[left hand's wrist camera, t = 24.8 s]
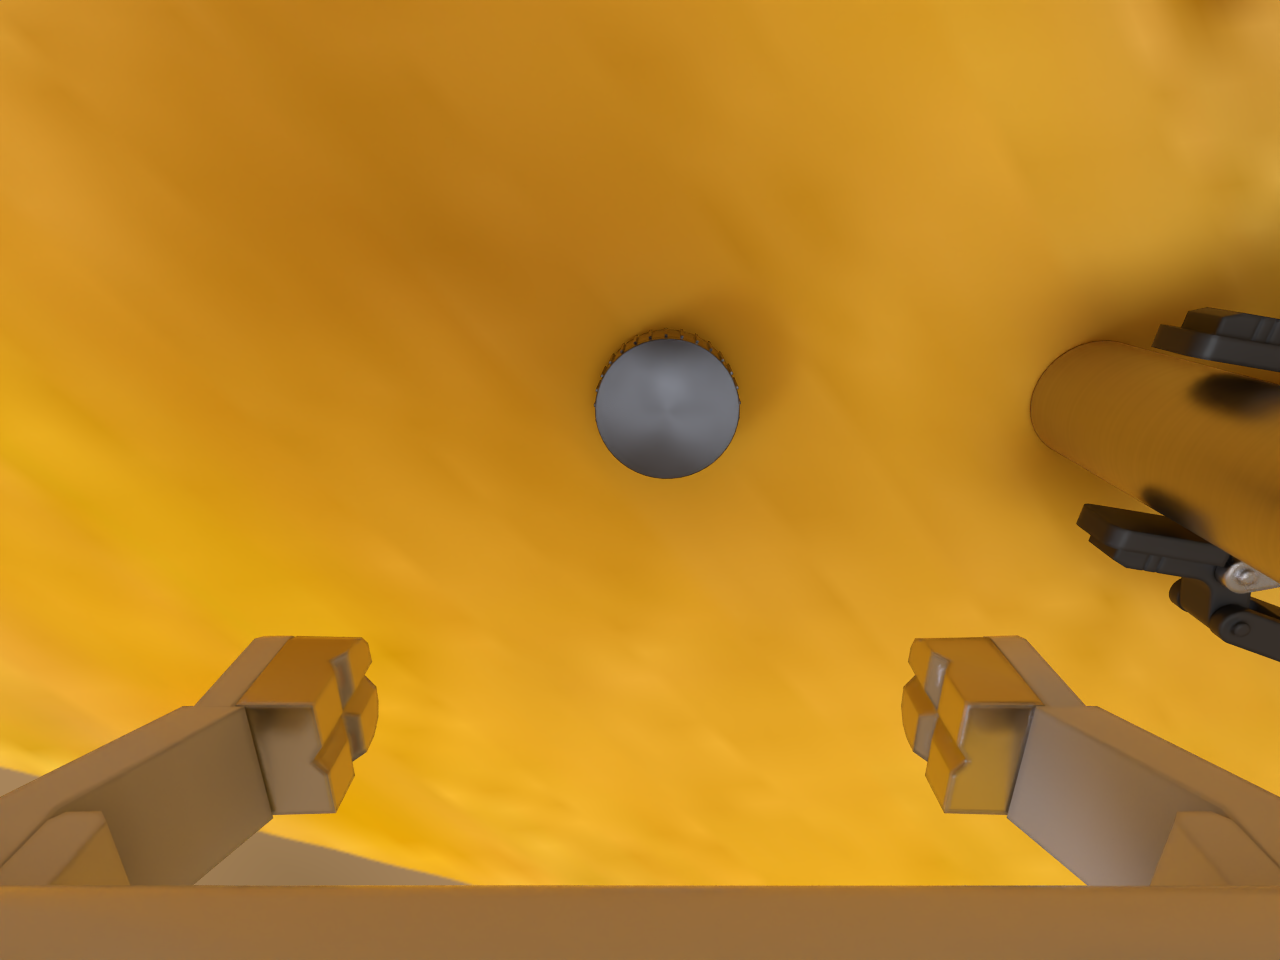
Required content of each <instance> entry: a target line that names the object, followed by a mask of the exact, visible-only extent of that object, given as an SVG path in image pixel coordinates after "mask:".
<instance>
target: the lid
mask: <svg viewBox="0 0 1280 960" xmlns="http://www.w3.org/2000/svg"><path fill="white" fill-rule="evenodd" d="M732 374H733V372H732V370H731V368H730V365H729V364H726V362H725V360H724V358H723V356H722V353H721V352H720V351H719V352H717V351H716V350H715V349H714V347H713V346H712V345H711V342H709V341H708V342H706V341H705V340H703V339H701V338H699V337H698V335H697V334H695V335H693V334H690V333H687V332H683V329H680V331H678V330H668V328H665V330H658V331H652V330H649V333H645V334H643V335H640V336H638V335H636V336H635V338H634V339H633V340H631V341H629V342H628V343H627V344H625V343H623V344H622V347H621V349H620V350H619V351H618V352H617V353H616V354H614V353H613V355H612V356H611V359H610V361H609V364H608V366H607V367H606V366H605V367H604V370H603V372H602V374H601V377H602V380H600V381H599V384H598V386H597V388H596V392H597V395H596V401H595V403H594V407H595V417H596V422H597V427H598V430H599V433H600V435H601V437H602V440H603V442H604V443H605V445H606V446H607V448H608V450H609V451H610V452H611V453H612V454H613V455H614V457H615V458H617V459H618V460H619V461H620V462H621V463H622V464H624V465H625V466H627V467H628V468H630V469H631V470H633V471H635V472H637V473H640V474H643V475H645V476H649V477H654V478H662V479H673V478H681V477H685V476H689V475H692V474H694V473H697V472H699V471H701V470H703V469H705V468H706V467H708V466H709V465H711V464H712V463H713V462H715V461H716V460H717V459H718V458H719V457H720V456H721V455H722V454H723V452H724V451H725V450H726V449H727V447H728V446H729V444H730V442H731V441H732V439H733V436H734V434H735V432H736V428H737V425H738V420H739V411H740V404H741V402H740V399H739V396H738V392H737V389H739V388H738V385H737V383H736V380H735V378H734V377H732Z"/></svg>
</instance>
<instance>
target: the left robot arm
mask: <svg viewBox="0 0 1280 960" xmlns="http://www.w3.org/2000/svg"><path fill="white" fill-rule="evenodd" d="M371 663H372V660H371V655H370V650H369V645H368V643H367V642H366V641H365V640H364V639H363V638H362V637H318V636H296V637H294V636H262V637H259V638H256V639H254V640H253V641H252V642H251V643H250V644H249V646H248V647H247V648H246V649H245V650H244V651H243V652H242V653H241V654H240V656H239V657H238V658H237V659H236V660H235V661H234V662H233V663H232V664H231V666H230V667H229V668H228V669H227V670H226V671H225V672H224V673H223V674H222V676H221V677H220V678H219V679H218V680H217V681H216V682H215V683H214V684H213V686H212V687H211V688H210V689H209V690H208V691H207V692H206V693H205V694H204V696H203V697H202V698H201V699H200V700H199V701H198V702H197V703H196V705H195V706H182V707H180V708H178V709H176V710H174V711H172V712H170V713H168V714H166V715H164V716H162V717H160V718H158V719H156V720H154V721H152V722H150V723H148V724H146V725H144V726H142V727H140V728H138V729H136V730H134V731H132V732H130V733H128V734H126V735H124V736H122V737H120V738H118V739H116V740H114V741H112V742H110V743H108V744H106V745H104V746H102V747H100V748H98V749H96V750H94V751H92V752H90V753H88V754H86V755H84V756H82V757H80V758H78V759H76V760H74V761H72V762H70V763H68V764H66V765H64V766H62V767H60V768H57V769H55V770H53V771H51V772H49V773H47V774H45V775H43V776H41V777H39V778H37V779H35V780H33V781H31V782H29V783H27V784H25V785H23V786H21V787H19V788H17V789H15V790H13V791H11V792H9V793H7V794H5V795H3V796H1V797H0V960H1280V797H1278V796H1276V795H1274V794H1272V793H1270V792H1268V791H1266V790H1264V789H1262V788H1260V787H1258V786H1256V785H1254V784H1252V783H1250V782H1248V781H1246V780H1244V779H1242V778H1240V777H1238V776H1236V775H1234V774H1232V773H1230V772H1228V771H1226V770H1224V769H1222V768H1220V767H1218V766H1216V765H1214V764H1212V763H1210V762H1208V761H1206V760H1204V759H1202V758H1200V757H1198V756H1196V755H1194V754H1192V753H1190V752H1188V751H1186V750H1184V749H1182V748H1180V747H1178V746H1176V745H1174V744H1172V743H1170V742H1168V741H1166V740H1164V739H1162V738H1160V737H1158V736H1156V735H1154V734H1152V733H1150V732H1148V731H1146V730H1144V729H1142V728H1140V727H1138V726H1136V725H1134V724H1132V723H1130V722H1128V721H1126V720H1124V719H1122V718H1120V717H1118V716H1116V715H1114V714H1112V713H1110V712H1108V711H1106V710H1104V709H1102V708H1100V707H1098V706H1085V705H1084V703H1083V702H1082V701H1081V700H1080V699H1079V698H1078V697H1077V696H1076V695H1075V693H1074V692H1073V691H1072V690H1071V689H1070V688H1069V687H1068V686H1067V684H1066V683H1065V682H1064V681H1063V680H1062V679H1061V678H1060V677H1059V676H1058V674H1057V673H1056V672H1055V671H1054V670H1053V669H1052V668H1051V667H1050V666H1049V664H1048V663H1047V662H1046V661H1045V660H1044V659H1043V658H1042V657H1041V656H1040V654H1039V653H1038V652H1037V651H1036V650H1035V649H1034V648H1033V647H1032V646H1031V644H1030V643H1029V642H1028V641H1027V640H1026V639H1024V638H1022V637H1020V636H1017V635H1016V636H986V637H968V638H915V640H914V642H913V644H912V646H911V648H910V654H909V659H908V663H909V664H910V666H911V668H912V670H913V671H914V673H915V676H914V677H913V678H912V679H911V680H910V681H909V682H908V683H907V684H906V685H905V686H904V688H903V696H902V704H901V709H902V720H903V727H904V730H905V734H906V737H907V740H908V742H909V744H910V746H911V748H912V750H913V752H914V753H916V754H917V755H919V756H920V757H922V758H923V759H924V760H926V761H927V768H926V773H925V776H926V778H927V780H928V782H929V784H930V786H931V788H932V790H933V792H934V794H935V796H936V798H937V800H938V802H939V804H940V806H941V808H942V810H943V812H944V813H959V814H995V815H1007V818H1008V819H1009V820H1010V821H1011V822H1012V823H1014V824H1015V825H1016V826H1017V827H1018V828H1020V829H1021V830H1022V831H1023V832H1024V833H1026V834H1027V835H1028V836H1029V837H1030V838H1032V839H1033V840H1034V841H1035V842H1036V843H1038V844H1039V845H1040V846H1041V847H1042V848H1044V849H1045V850H1046V851H1047V852H1048V853H1050V854H1051V855H1052V856H1053V857H1054V858H1055V859H1057V860H1058V861H1059V862H1060V863H1061V864H1063V865H1064V866H1065V867H1066V868H1067V869H1069V870H1070V871H1071V872H1072V873H1073V874H1075V875H1076V876H1077V877H1078V878H1079V879H1081V880H1082V881H1083V882H1084V883H1085V884H1087V885H1088V886H604V885H458V886H457V885H456V886H454V885H453V886H212V885H194V884H195V883H196V882H197V881H198V880H200V879H201V878H202V877H203V876H204V875H206V874H207V873H208V872H209V871H210V870H211V869H213V868H214V867H215V866H216V865H218V864H219V863H220V862H221V861H222V860H224V859H225V858H226V857H227V856H228V855H230V854H231V853H232V852H233V851H234V850H236V849H237V848H238V847H239V846H240V845H242V844H243V843H244V842H245V841H246V840H247V839H249V838H250V837H251V836H252V835H253V834H255V833H256V832H257V831H258V830H259V829H261V828H262V827H263V826H264V825H265V824H267V823H268V822H269V821H270V820H271V819H273V815H285V814H320V813H336V812H337V810H338V808H339V806H340V804H341V802H342V800H343V798H344V796H345V794H346V792H347V790H348V788H349V786H350V784H351V782H352V780H353V778H354V776H355V773H354V768H353V761H354V760H356V759H357V758H358V757H360V756H361V755H363V754H364V753H366V752H367V750H368V748H369V746H370V744H371V742H372V739H373V737H374V734H375V729H376V725H377V720H378V695H377V688H376V686H375V685H374V684H373V683H372V682H371V681H370V680H369V679H368V678H367V677H366V676H365V673H366V671H367V670H368V668H369V666H370V664H371Z"/></svg>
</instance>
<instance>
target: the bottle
mask: <svg viewBox="0 0 1280 960" xmlns="http://www.w3.org/2000/svg"><path fill="white" fill-rule="evenodd" d="M1030 410H1031V420H1032V424H1033V427H1034V430H1035V432H1036V433H1037V435H1038V437H1039V438H1040V439H1041V440H1042V442H1043V443H1045V444H1046V445H1047V446H1048V447H1050V448H1051V449H1053V450H1054V451H1056V452H1058V453H1059V454H1061V455H1063V456H1064V457H1066V458H1068V459H1069V460H1071V461H1073V462H1075V463H1076V464H1078V465H1080V466H1081V467H1083V468H1085V469H1086V470H1088V471H1090V472H1091V473H1093V474H1095V475H1096V476H1098V477H1100V478H1102V479H1103V480H1105V481H1107V482H1108V483H1110V484H1112V485H1113V486H1115V487H1117V488H1118V489H1120V490H1122V491H1124V492H1125V493H1127V494H1129V495H1130V496H1132V497H1134V498H1135V499H1137V500H1139V501H1140V502H1142V503H1144V504H1146V505H1147V506H1149V507H1151V508H1152V509H1154V510H1156V511H1157V512H1159V513H1161V514H1162V515H1164V516H1166V517H1168V518H1169V519H1171V520H1173V521H1174V522H1176V523H1178V524H1179V525H1181V526H1183V527H1184V528H1186V529H1188V530H1190V531H1191V532H1193V533H1195V534H1196V535H1198V536H1200V537H1201V538H1203V539H1205V540H1206V541H1208V542H1210V543H1211V544H1213V545H1215V546H1217V547H1218V548H1220V549H1222V550H1223V551H1225V552H1227V553H1228V554H1230V555H1232V556H1233V557H1235V558H1237V559H1239V560H1240V561H1242V562H1244V563H1245V564H1247V565H1249V566H1250V567H1252V568H1254V569H1255V570H1257V571H1259V572H1261V573H1262V574H1264V575H1266V576H1267V577H1269V578H1271V579H1272V580H1274V581H1276V582H1277V583H1279V584H1280V385H1278V384H1274V383H1270V382H1266V381H1263V380H1259V379H1255V378H1251V377H1248V376H1244V375H1240V374H1236V373H1233V372H1229V371H1225V370H1221V369H1218V368H1214V367H1210V366H1206V365H1202V364H1199V363H1195V362H1191V361H1187V360H1184V359H1180V358H1176V357H1172V356H1169V355H1165V354H1161V353H1157V352H1154V351H1150V350H1146V349H1142V348H1139V347H1135V346H1131V345H1127V344H1124V343H1120V342H1115V341H1095V342H1090V343H1086V344H1083V345H1080V346H1078V347H1076V348H1073V349H1071V350H1069V351H1068V352H1066V353H1065V354H1063V355H1061V356H1060V357H1059V358H1058V359H1056V360H1055V361H1054V362H1053V363H1052V364H1051V365H1050V366H1049V367H1048V368H1047V369H1046V371H1045V372H1044V373H1043V375H1042V376H1041V378H1040V379H1039V381H1038V383H1037V385H1036V387H1035V390H1034V392H1033V396H1032V400H1031V409H1030Z"/></svg>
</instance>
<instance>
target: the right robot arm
mask: <svg viewBox="0 0 1280 960" xmlns="http://www.w3.org/2000/svg"><path fill="white" fill-rule="evenodd" d="M1151 347H1155V348H1159V349H1162V350H1166V351H1170V352H1174V353H1178V354H1182V355H1186V356H1190V357H1195V358H1200V359H1205V360H1211V361H1217V362H1223V363H1229V364H1234V365H1240V366H1246V367H1252V368H1258V369H1264V370H1270V371H1276V372H1280V319H1276V318H1270V317H1264V316H1258V315H1252V314H1247V313H1240V312H1234V311H1228V310H1221V309H1215V308H1209V307H1206V308H1201V309H1197V310H1192V311H1188V313H1187V315H1186V318H1185V320H1184V322H1183V324H1182V327H1175V326H1169V325H1163V324H1161V325H1160V327H1159V329H1158V332H1157V334H1156V336H1155V339H1154V341H1153V344H1152V346H1151ZM1076 524H1077V525H1078V526H1079V527H1081V528H1082V529H1083V530H1085V531H1086V532H1087V533H1089V534H1090V535H1091V536H1090V539H1089V542H1091V543H1092V544H1093V545H1095V546H1096V547H1097V548H1099V549H1100V550H1101V551H1103V552H1104V553H1105V554H1107V555H1108V556H1109V557H1110V558H1112V559H1113V560H1115V561H1116V562H1118V563H1119V564H1121V565H1123V566H1124V567H1126V568H1131V569H1137V570H1145V571H1149V572H1157V573H1162V574H1168V575H1174V576H1180V577H1181V579H1179V580H1177V581H1176V582H1175V583H1174V584H1173V585H1172V587H1171V588H1170V591H1169V598H1170V600H1171V601H1172V602H1173V603H1174V604H1175V605H1177V606H1178V607H1179V608H1181V609H1182V610H1184V611H1186V612H1188V613H1190V614H1191V615H1192V616H1194V617H1195V618H1196V619H1198V620H1199V621H1200V622H1202V623H1203V624H1204V625H1206V626H1207V627H1208V628H1210V630H1211V631H1212V632H1213V633H1214V634H1215V635H1217V636H1218V637H1219V638H1221V639H1222V640H1223V641H1225V642H1226V643H1229V644H1232V645H1234V646H1237V647H1240V648H1243V649H1246V650H1248V651H1251V652H1254V653H1257V654H1259V655H1262V656H1265V657H1268V658H1271V659H1273V660H1276V661H1279V662H1280V607H1278V606H1275V605H1272V604H1269V603H1267V602H1264V601H1261V600H1259V599H1256V598H1253V597H1250V595H1251V592H1255V591H1260V590H1266V589H1271V588H1277V587H1280V584H1279V583H1277V582H1276V581H1274V580H1272V579H1271V578H1269V577H1267V576H1266V575H1264V574H1262V573H1261V572H1259V571H1257V570H1255V569H1254V568H1252V567H1250V566H1249V565H1247V564H1245V563H1244V562H1242V561H1240V560H1239V559H1237V558H1235V557H1233V556H1232V555H1230V554H1228V553H1227V552H1225V551H1223V550H1222V549H1220V548H1218V547H1217V546H1215V545H1213V544H1211V543H1210V542H1208V541H1206V540H1205V539H1203V538H1201V537H1200V536H1198V535H1196V534H1195V533H1193V532H1191V531H1190V530H1188V529H1186V528H1184V527H1183V526H1181V525H1179V524H1178V523H1176V522H1174V521H1173V520H1171V519H1169V518H1168V517H1166V516H1161V515H1155V514H1149V513H1143V512H1137V511H1131V510H1124V509H1118V508H1112V507H1106V506H1100V505H1094V504H1084V506H1083V509H1082V511H1081V513H1080V516H1079V518H1078V521H1077V523H1076Z"/></svg>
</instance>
